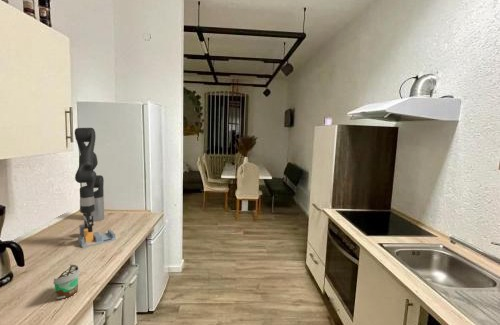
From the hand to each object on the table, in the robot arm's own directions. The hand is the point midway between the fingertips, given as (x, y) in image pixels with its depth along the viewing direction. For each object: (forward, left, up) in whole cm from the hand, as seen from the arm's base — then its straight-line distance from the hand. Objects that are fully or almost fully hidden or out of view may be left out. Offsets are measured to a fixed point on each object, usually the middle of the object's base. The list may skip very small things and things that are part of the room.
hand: (88, 229), depth 162 cm
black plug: (-12, 0, -8) cm, 14 cm away
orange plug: (0, 0, -7) cm, 7 cm away
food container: (+51, -18, -8) cm, 55 cm away
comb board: (0, +4, -8) cm, 9 cm away
